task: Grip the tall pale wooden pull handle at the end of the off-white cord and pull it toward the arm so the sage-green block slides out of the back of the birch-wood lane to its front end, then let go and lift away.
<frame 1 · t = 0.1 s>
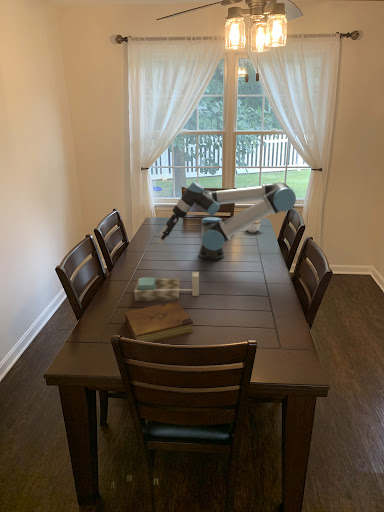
hand: (159, 239, 205), 15 cm above the table, tool tilted 35°, fingers open, 13 cm apart
diary: (158, 328, 153), on the table
block sled: (169, 283, 177), point 6 cm above the table, slide at 0.0 cm
lane: (158, 294, 179), on the table
lidded jar: (252, 231, 264), on the table
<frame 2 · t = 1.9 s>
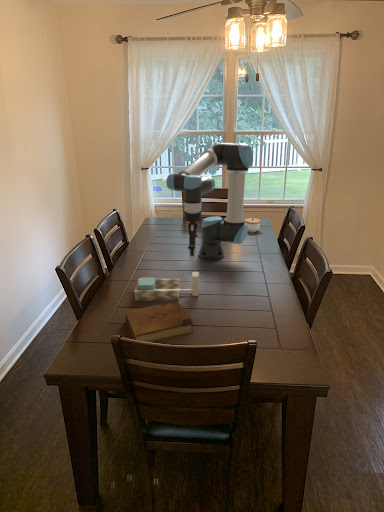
hand: (192, 256, 172), 19 cm above the table, tool pointing down, fingers open, 13 cm apart
nothing on the table moved.
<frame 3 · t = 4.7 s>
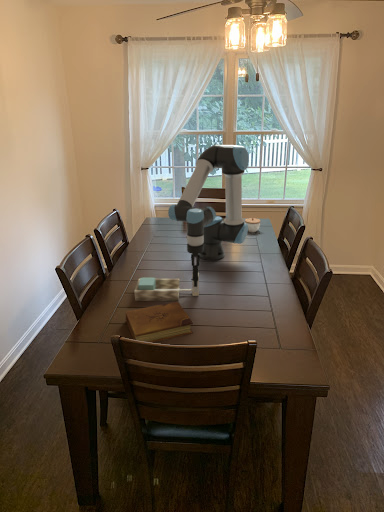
hand: (195, 288, 178), 3 cm above the table, tool pointing down, fingers closed on block sled, 5 cm apart
block sled: (169, 283, 177), point 6 cm above the table, slide at 0.0 cm, touching gripper
everything else where it was.
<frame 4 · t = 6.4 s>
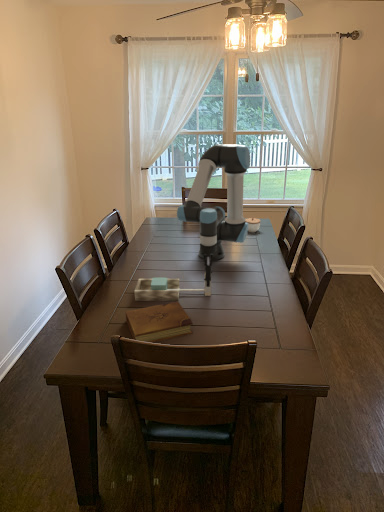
hand: (207, 288, 177), 3 cm above the table, tool pointing down, fingers closed on block sled, 5 cm apart
block sled: (181, 283, 177), point 6 cm above the table, slide at 5.8 cm, touching gripper
everything else where it was.
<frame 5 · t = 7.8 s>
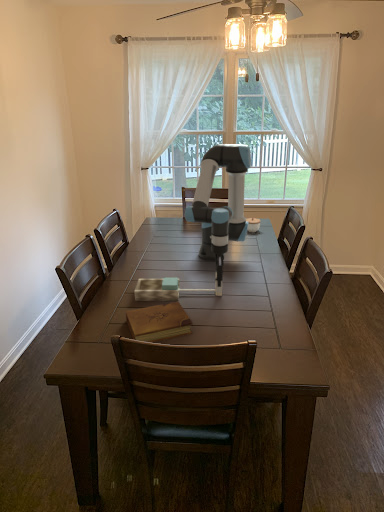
hand: (218, 288, 177), 3 cm above the table, tool pointing down, fingers closed on block sled, 5 cm apart
block sled: (192, 283, 177), point 6 cm above the table, slide at 11.0 cm, touching gripper
everything else where it was.
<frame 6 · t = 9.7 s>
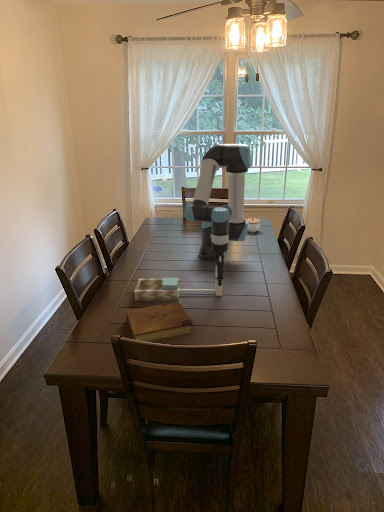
hand: (218, 284, 177), 5 cm above the table, tool pointing down, fingers open, 13 cm apart
block sled: (192, 283, 177), point 6 cm above the table, slide at 11.0 cm
everything else where it was.
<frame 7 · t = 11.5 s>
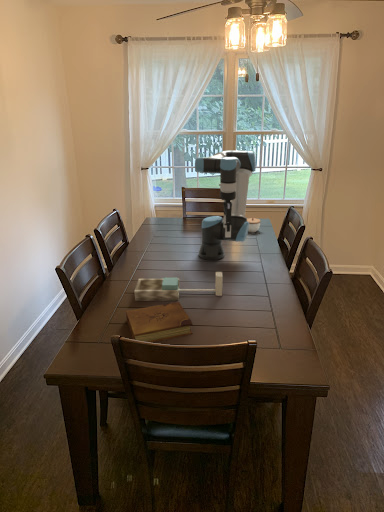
hand: (227, 232, 188), 24 cm above the table, tool pointing down, fingers open, 13 cm apart
nothing on the table moved.
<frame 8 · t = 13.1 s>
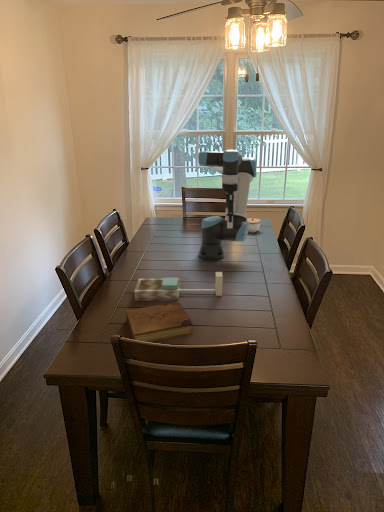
hand: (228, 223, 192), 27 cm above the table, tool pointing down, fingers open, 13 cm apart
nothing on the table moved.
at the end: block sled slide at 11.0 cm; the gripper is holding nothing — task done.
